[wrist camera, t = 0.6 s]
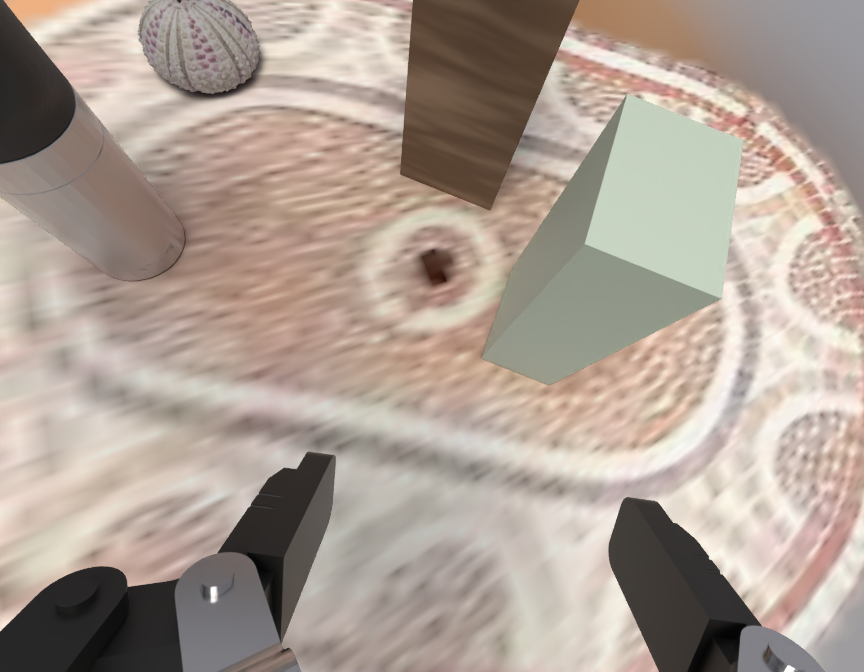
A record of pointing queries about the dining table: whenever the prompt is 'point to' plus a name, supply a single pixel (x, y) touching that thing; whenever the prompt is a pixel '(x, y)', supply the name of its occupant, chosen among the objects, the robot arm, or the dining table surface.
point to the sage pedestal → (622, 245)
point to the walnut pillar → (475, 88)
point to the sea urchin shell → (199, 43)
